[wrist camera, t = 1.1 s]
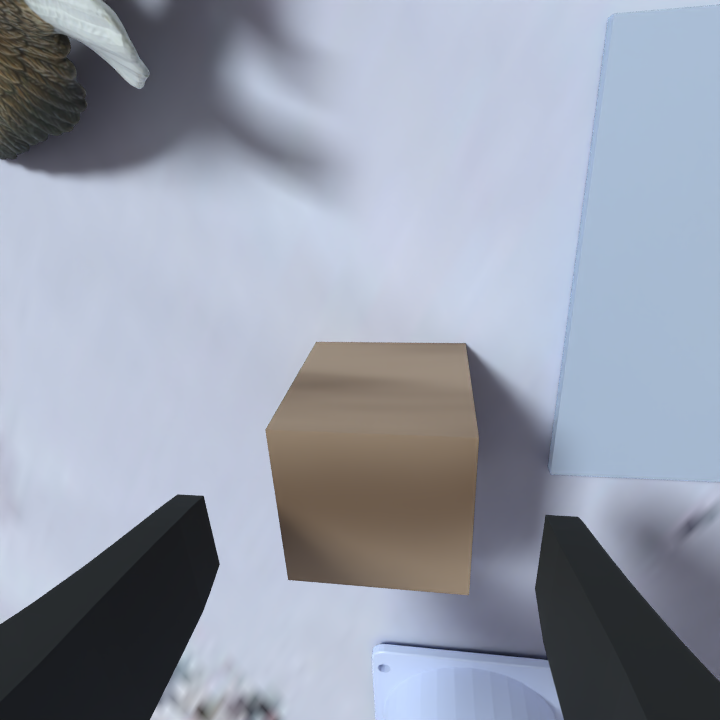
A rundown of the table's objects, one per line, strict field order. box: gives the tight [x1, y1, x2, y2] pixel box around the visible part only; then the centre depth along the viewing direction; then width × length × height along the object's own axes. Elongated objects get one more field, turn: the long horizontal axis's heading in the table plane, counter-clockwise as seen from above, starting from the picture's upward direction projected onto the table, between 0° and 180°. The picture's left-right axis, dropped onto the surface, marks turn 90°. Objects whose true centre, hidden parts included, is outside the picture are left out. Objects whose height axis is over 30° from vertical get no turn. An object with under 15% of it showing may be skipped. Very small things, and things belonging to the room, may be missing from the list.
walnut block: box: [266, 342, 479, 595], centre depth 13 cm, size 4×4×5 cm
